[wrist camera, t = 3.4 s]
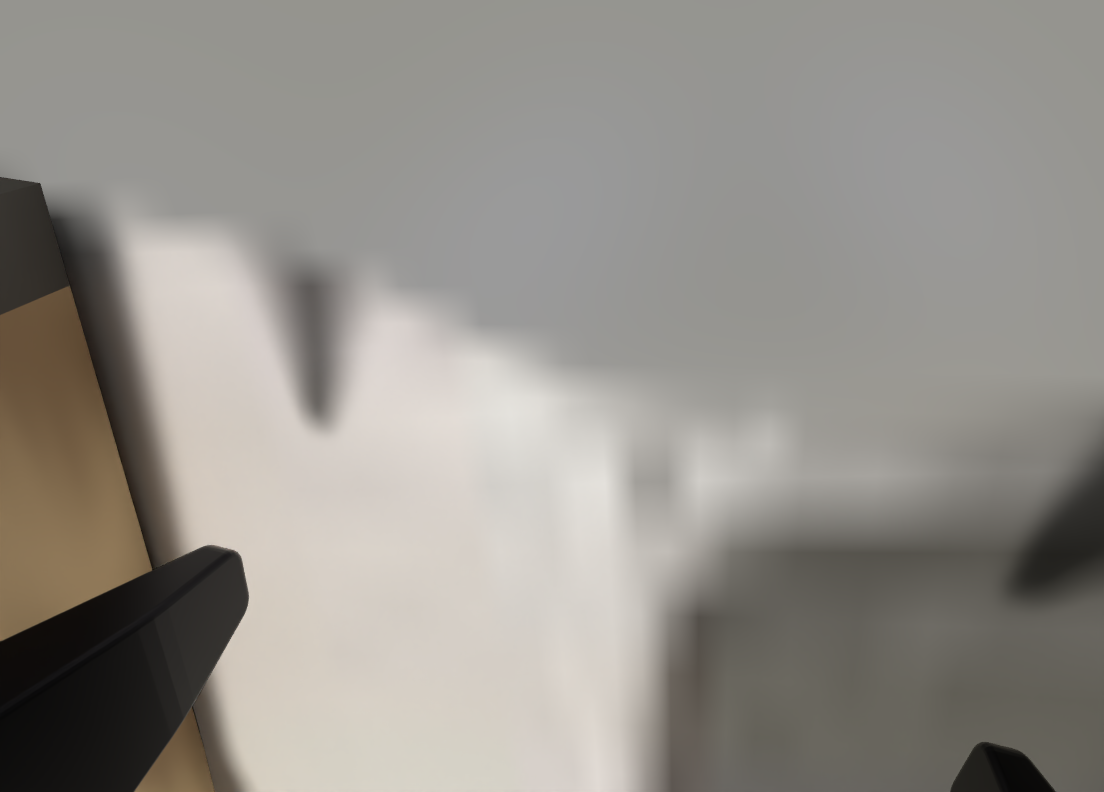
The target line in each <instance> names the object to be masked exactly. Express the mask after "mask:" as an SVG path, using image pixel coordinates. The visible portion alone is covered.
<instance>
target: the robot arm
mask: <svg viewBox="0 0 1104 792" xmlns="http://www.w3.org/2000/svg"><path fill="white" fill-rule="evenodd" d="M248 600H249V593H248V588H247V583H246V578H245V573H244V568H243V563H242V559H241V556H240V555H239V554H238V552H236V551H234V550H231V549H227V548H223V547H219V546H215V545H207V546H204V547H201V548H199V549H197V550H195V551H192V552H190V553H188V554H186V555H184V556H182V557H180V558H177V559H175V560H173V561H171V562H169V563H167V564H165V565H162V566H160V567H158V568H156V569H154V570H152V571H150V572H147V573H145V574H143V575H141V576H139V577H137V578H135V579H132V580H130V581H128V582H126V583H124V584H122V585H120V586H118V587H115V588H113V589H111V590H109V591H107V592H105V593H103V594H100V595H98V596H96V597H94V598H92V599H90V600H88V601H85V602H83V603H81V604H79V605H77V606H75V607H73V608H70V609H68V610H66V611H64V612H62V613H60V614H58V615H56V616H53V617H51V618H49V619H47V620H45V621H43V622H41V623H38V624H36V625H34V626H32V627H30V628H28V629H26V630H23V631H21V632H19V633H17V634H15V635H13V636H11V637H8V638H6V639H4V640H2V641H0V792H135V790H136V789H137V787H138V786H139V784H140V783H141V781H142V780H143V779H144V777H145V776H146V774H147V773H148V771H149V770H150V769H151V767H152V766H153V764H154V763H155V761H156V760H157V759H158V757H159V756H160V754H161V753H162V751H163V750H164V749H165V747H166V746H167V744H168V743H169V741H170V740H171V739H172V737H173V736H174V734H175V733H176V731H177V730H178V728H179V727H180V725H181V724H182V722H183V721H184V719H185V718H186V716H187V714H188V713H189V711H190V709H191V708H192V706H193V704H194V703H195V701H196V699H197V697H198V696H199V694H200V692H201V690H202V689H203V687H204V685H205V683H206V681H207V680H208V678H209V676H210V674H211V673H212V671H213V669H214V667H215V666H216V664H217V662H218V660H219V658H220V657H221V655H222V653H223V651H224V650H225V648H226V646H227V644H228V643H229V641H230V639H231V637H232V635H233V634H234V632H235V630H236V628H237V627H238V625H239V623H240V621H241V620H242V618H243V616H244V614H245V612H246V609H247V606H248ZM950 792H1056V791H1055V790H1054V789H1053V788H1052V786H1051V785H1050V784H1049V783H1048V781H1047V780H1046V779H1045V778H1044V776H1043V775H1042V774H1041V773H1040V771H1039V770H1038V769H1037V768H1036V767H1035V765H1034V764H1033V763H1032V762H1031V760H1030V759H1029V758H1028V757H1027V756H1026V755H1024V754H1023V753H1022V752H1020V751H1018V750H1016V749H1012V748H1008V747H1004V746H1000V745H997V744H993V743H989V742H981V743H979V744H977V745H976V746H975V747H974V748H973V750H972V752H971V753H970V755H969V757H968V758H967V760H966V762H965V764H964V765H963V767H962V769H961V770H960V772H959V774H958V775H957V777H956V779H955V780H954V782H953V785H952V787H951V791H950Z"/></svg>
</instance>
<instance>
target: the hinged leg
mask: <svg viewBox="0 0 1104 792" xmlns="http://www.w3.org/2000/svg"><path fill="white" fill-rule="evenodd" d="M150 571H152V567H151V564H150V560H149V557H148V553H147V550H146V546H145V543H144V540H143V536H142V533H141V529H140V526H139V522H138V519H137V515H136V512H135V508H134V505H133V502H132V498H131V495H130V491H129V488H128V484H127V481H126V477H125V474H124V471H123V467H122V464H121V460H120V457H119V453H118V450H117V446H116V443H115V440H114V436H113V433H112V429H111V426H110V422H109V419H108V415H107V412H106V408H105V405H104V402H103V398H102V395H101V391H100V388H99V384H98V381H97V377H96V374H95V371H94V367H93V364H92V360H91V357H90V353H89V350H88V346H87V343H86V339H85V336H84V333H83V329H82V326H81V322H80V319H79V315H78V312H77V308H76V305H75V302H74V298H73V295H72V291H71V288H70V284H69V281H68V277H67V274H66V271H65V267H64V264H63V260H62V257H61V253H60V250H59V246H58V243H57V239H56V236H55V233H54V229H53V226H52V222H51V219H50V215H49V212H48V208H47V205H46V202H45V198H44V195H43V191H42V188H41V184H40V183H35V182H29V181H22V180H15V179H9V178H2V177H0V641H2V640H4V639H6V638H8V637H11V636H13V635H15V634H17V633H19V632H21V631H23V630H26V629H28V628H30V627H32V626H34V625H36V624H38V623H41V622H43V621H45V620H47V619H49V618H51V617H53V616H56V615H58V614H60V613H62V612H64V611H66V610H68V609H70V608H73V607H75V606H77V605H79V604H81V603H83V602H85V601H88V600H90V599H92V598H94V597H96V596H98V595H100V594H103V593H105V592H107V591H109V590H111V589H113V588H115V587H118V586H120V585H122V584H124V583H126V582H128V581H130V580H132V579H135V578H137V577H139V576H141V575H143V574H145V573H147V572H150ZM135 792H215V790H214V786H213V782H212V778H211V774H210V770H209V766H208V762H207V758H206V754H205V750H204V746H203V743H202V740H201V736H200V733H199V729H198V726H197V722H196V719H195V715H194V712H193V708H191V709H190V711H189V713H188V714H187V716H186V718H185V719H184V721H183V722H182V724H181V725H180V727H179V728H178V730H177V731H176V733H175V734H174V736H173V737H172V739H171V740H170V741H169V743H168V744H167V746H166V747H165V749H164V750H163V751H162V753H161V754H160V756H159V757H158V759H157V760H156V761H155V763H154V764H153V766H152V767H151V769H150V770H149V771H148V773H147V774H146V776H145V777H144V779H143V780H142V781H141V783H140V784H139V786H138V787H137V789H136V790H135Z"/></svg>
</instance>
